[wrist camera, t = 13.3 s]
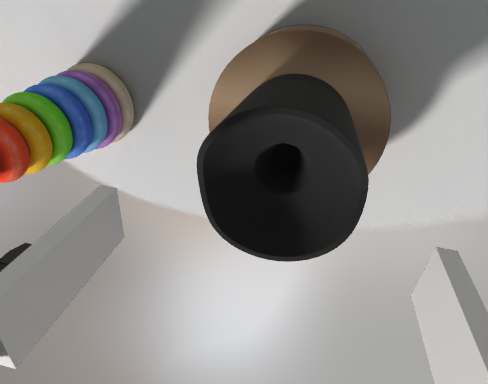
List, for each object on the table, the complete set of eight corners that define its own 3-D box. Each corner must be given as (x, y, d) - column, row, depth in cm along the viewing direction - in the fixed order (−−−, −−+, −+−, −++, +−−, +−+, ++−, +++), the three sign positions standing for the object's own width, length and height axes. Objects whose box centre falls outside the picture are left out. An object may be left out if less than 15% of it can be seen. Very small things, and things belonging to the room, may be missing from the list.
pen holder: (213, 133, 28) (163, 194, 20) (287, 36, 23) (262, 62, 15) (298, 201, 29) (285, 285, 21) (385, 124, 24) (412, 193, 16)
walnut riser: (228, 16, 28) (210, 20, 24) (404, 34, 26) (419, 42, 22) (221, 166, 35) (207, 189, 31) (358, 189, 33) (362, 218, 29)
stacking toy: (142, 79, 32) (-36, 161, 16) (132, 149, 36) (-17, 268, 21) (67, 48, 32) (-183, 102, 17) (65, 123, 37) (-133, 220, 21)
